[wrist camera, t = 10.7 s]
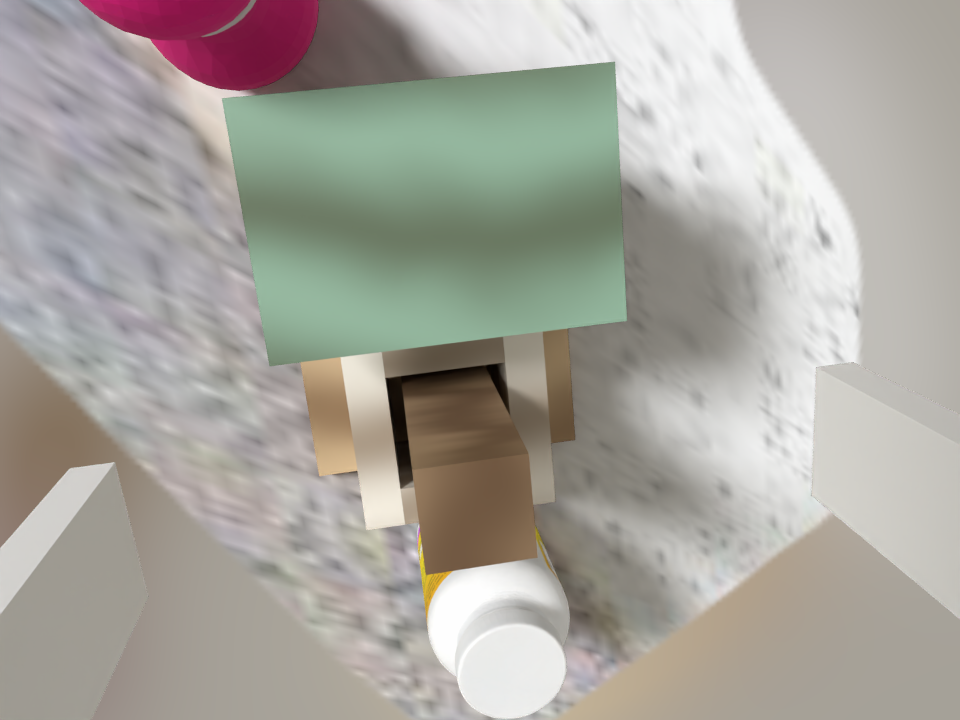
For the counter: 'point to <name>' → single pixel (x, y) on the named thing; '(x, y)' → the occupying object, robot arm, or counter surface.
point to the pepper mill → (220, 35)
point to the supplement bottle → (500, 632)
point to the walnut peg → (467, 472)
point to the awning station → (432, 251)
